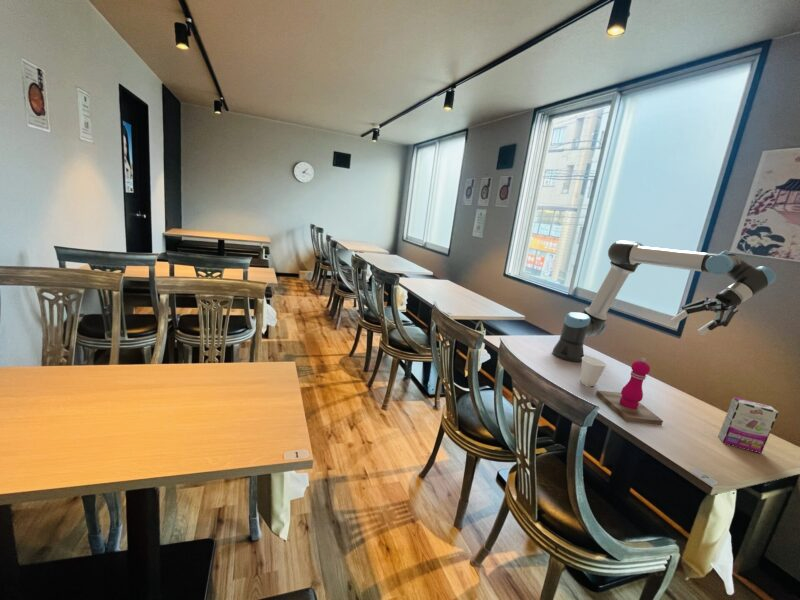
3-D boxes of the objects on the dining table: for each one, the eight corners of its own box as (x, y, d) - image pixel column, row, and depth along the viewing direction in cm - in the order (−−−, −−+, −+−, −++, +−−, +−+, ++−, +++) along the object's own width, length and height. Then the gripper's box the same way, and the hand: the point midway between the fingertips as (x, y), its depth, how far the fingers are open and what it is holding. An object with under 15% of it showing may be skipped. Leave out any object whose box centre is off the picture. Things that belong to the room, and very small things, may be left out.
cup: (597, 391, 158) (604, 368, 155) (573, 382, 163) (579, 359, 161) (601, 384, 166) (608, 362, 163) (578, 376, 171) (584, 354, 169)
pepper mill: (643, 409, 143) (659, 362, 138) (629, 410, 141) (645, 362, 136) (627, 399, 150) (642, 354, 145) (613, 400, 147) (628, 354, 142)
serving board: (595, 394, 155) (597, 390, 154) (626, 397, 156) (628, 393, 155) (626, 421, 135) (627, 417, 135) (661, 425, 137) (663, 420, 136)
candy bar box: (754, 446, 131) (772, 405, 127) (761, 454, 127) (780, 412, 123) (716, 435, 135) (732, 396, 131) (722, 443, 130) (739, 402, 126)
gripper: (768, 312, 135) (716, 345, 138) (709, 295, 159) (666, 324, 162) (760, 296, 133) (708, 330, 136) (702, 282, 157) (659, 311, 160)
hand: (685, 327), depth 149 cm, fingers open, 13 cm apart
